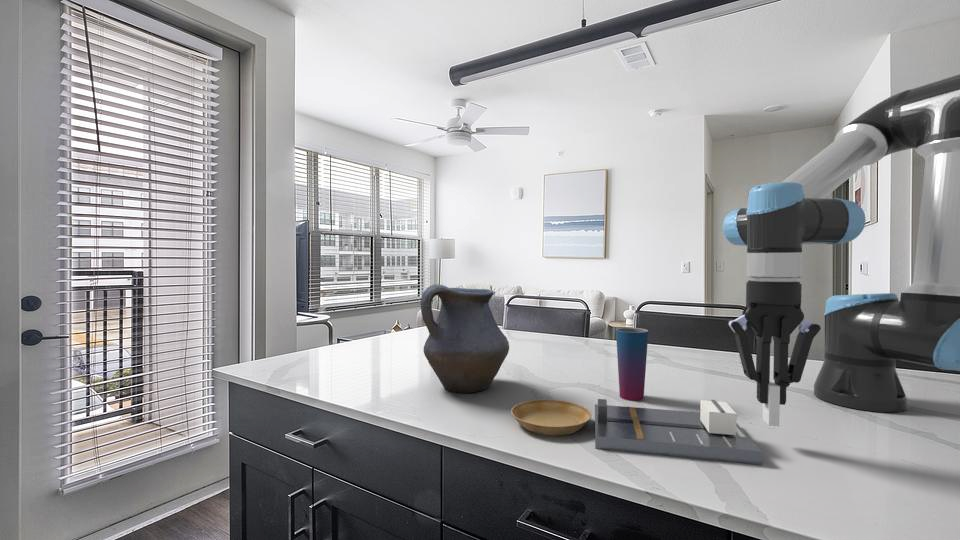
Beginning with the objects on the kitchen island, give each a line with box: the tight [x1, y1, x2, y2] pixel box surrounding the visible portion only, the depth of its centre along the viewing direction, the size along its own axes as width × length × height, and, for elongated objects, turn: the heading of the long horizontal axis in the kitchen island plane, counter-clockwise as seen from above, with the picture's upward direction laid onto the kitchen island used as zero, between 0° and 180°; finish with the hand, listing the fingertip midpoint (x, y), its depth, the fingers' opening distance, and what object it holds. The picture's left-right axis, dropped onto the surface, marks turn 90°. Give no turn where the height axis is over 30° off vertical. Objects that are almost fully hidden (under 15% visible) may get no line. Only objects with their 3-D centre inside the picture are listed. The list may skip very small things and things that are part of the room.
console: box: [594, 398, 763, 466], centre depth 77 cm, size 24×16×5 cm, turn 76°
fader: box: [700, 399, 738, 435], centre depth 75 cm, size 4×6×4 cm, turn 166°
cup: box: [615, 326, 649, 402], centre depth 98 cm, size 7×7×15 cm
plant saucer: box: [510, 398, 592, 437], centre depth 82 cm, size 15×15×3 cm
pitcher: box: [420, 283, 510, 394], centre depth 105 cm, size 21×22×25 cm
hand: (770, 422), depth 73 cm, fingers closed
